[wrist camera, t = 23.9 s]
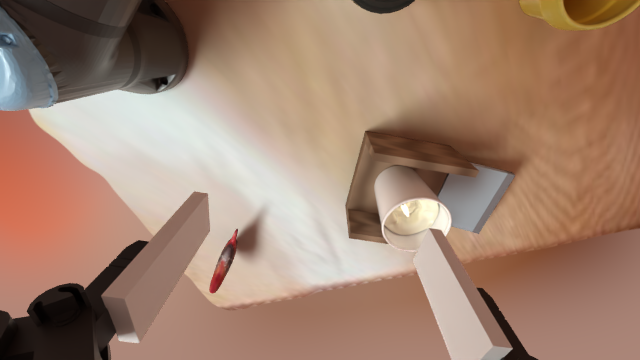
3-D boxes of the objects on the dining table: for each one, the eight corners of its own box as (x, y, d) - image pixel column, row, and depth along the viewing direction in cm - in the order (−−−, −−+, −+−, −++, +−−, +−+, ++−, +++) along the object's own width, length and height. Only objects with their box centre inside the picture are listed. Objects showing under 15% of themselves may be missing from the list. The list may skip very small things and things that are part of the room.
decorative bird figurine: (220, 260, 61) (202, 296, 53) (239, 207, 53) (222, 240, 45) (231, 264, 62) (216, 300, 53) (252, 212, 54) (238, 245, 45)
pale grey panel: (427, 220, 50) (478, 233, 49) (455, 161, 44) (515, 175, 42) (426, 216, 51) (476, 229, 50) (453, 158, 45) (511, 172, 44)
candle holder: (358, 185, 46) (368, 226, 36) (401, 150, 43) (425, 185, 32) (391, 215, 50) (409, 261, 39) (434, 184, 46) (465, 226, 35)
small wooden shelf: (345, 205, 52) (348, 238, 44) (365, 131, 44) (374, 152, 36) (418, 216, 53) (435, 251, 45) (450, 146, 45) (479, 170, 37)
